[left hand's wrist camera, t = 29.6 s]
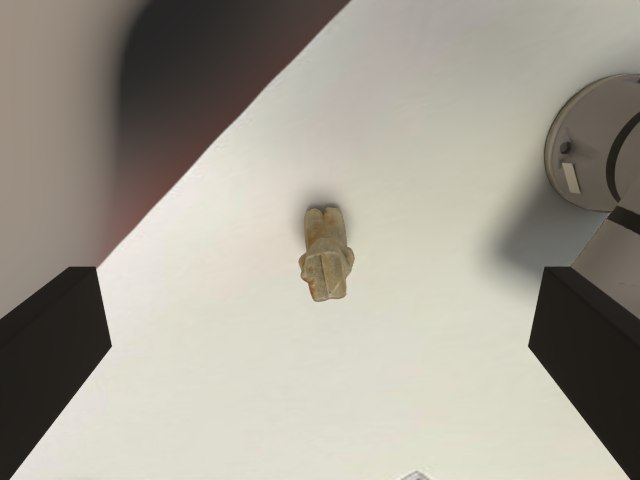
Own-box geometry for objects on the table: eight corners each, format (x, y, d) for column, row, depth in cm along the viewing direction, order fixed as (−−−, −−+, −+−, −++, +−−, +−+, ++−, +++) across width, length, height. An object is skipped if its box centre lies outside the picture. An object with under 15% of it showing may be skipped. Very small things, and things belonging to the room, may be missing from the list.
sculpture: (347, 202, 52) (357, 249, 38) (350, 257, 55) (361, 319, 41) (299, 206, 52) (292, 254, 38) (304, 260, 55) (299, 323, 41)
